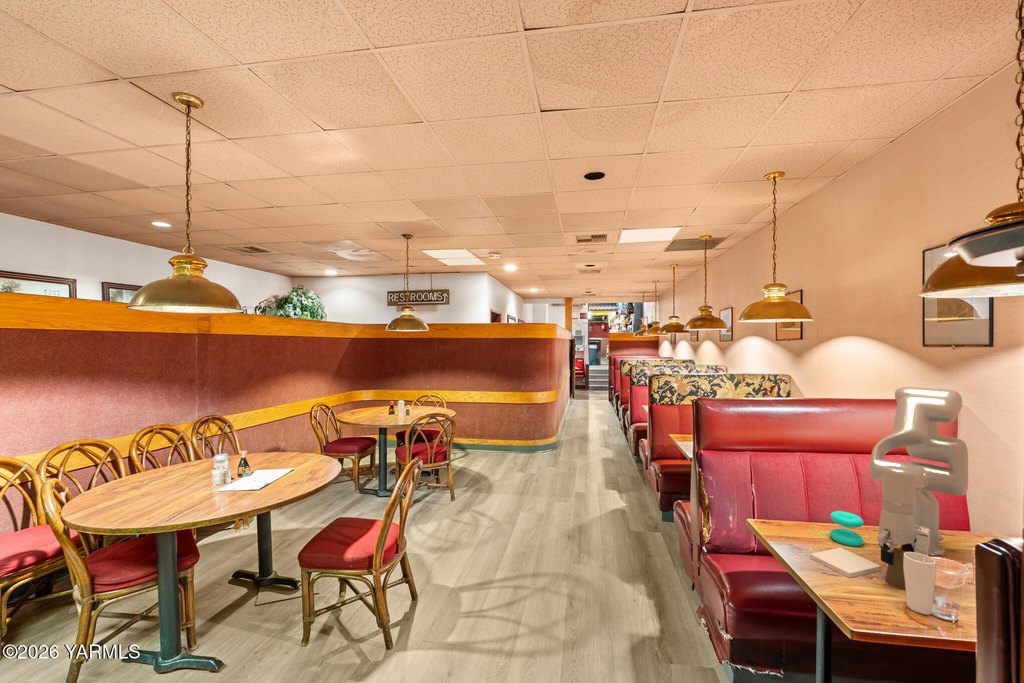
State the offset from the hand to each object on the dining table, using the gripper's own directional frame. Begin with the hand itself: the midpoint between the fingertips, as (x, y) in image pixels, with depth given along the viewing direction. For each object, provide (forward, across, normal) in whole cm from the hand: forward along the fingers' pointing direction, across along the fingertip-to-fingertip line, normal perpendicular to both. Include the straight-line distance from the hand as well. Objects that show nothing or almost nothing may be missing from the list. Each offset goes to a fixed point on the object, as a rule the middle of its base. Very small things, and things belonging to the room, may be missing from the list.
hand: (897, 561), depth 132 cm
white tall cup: (+8, +8, +10) cm, 15 cm away
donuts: (+7, -16, -25) cm, 31 cm away
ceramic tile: (+7, +3, -14) cm, 16 cm away
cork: (+8, -1, 0) cm, 8 cm away
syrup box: (+7, -16, -3) cm, 18 cm away
